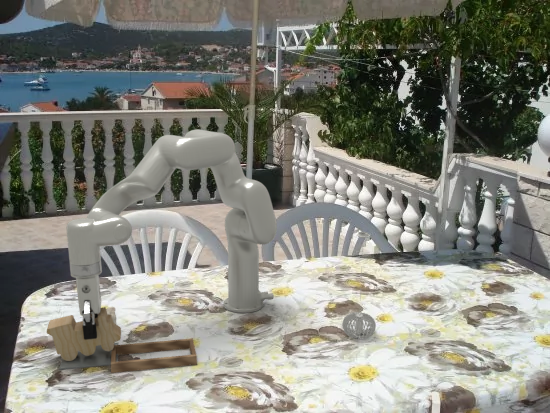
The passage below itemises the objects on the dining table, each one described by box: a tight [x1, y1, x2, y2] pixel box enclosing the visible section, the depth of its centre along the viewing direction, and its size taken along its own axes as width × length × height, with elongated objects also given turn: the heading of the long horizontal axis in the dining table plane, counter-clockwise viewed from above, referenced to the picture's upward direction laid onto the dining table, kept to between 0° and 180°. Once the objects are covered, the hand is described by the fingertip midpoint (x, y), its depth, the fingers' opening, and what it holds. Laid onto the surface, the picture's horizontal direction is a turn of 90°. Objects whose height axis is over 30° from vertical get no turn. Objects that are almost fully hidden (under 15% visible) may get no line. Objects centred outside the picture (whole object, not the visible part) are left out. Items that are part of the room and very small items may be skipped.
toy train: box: [45, 306, 122, 361], centre depth 160 cm, size 6×17×10 cm, turn 103°
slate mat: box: [59, 341, 120, 371], centre depth 161 cm, size 14×12×1 cm
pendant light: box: [342, 231, 377, 340], centre depth 172 cm, size 9×9×30 cm
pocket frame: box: [110, 337, 198, 374], centre depth 160 cm, size 21×10×2 cm, turn 103°
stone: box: [106, 306, 117, 325], centre depth 175 cm, size 8×12×10 cm, turn 10°
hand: (91, 330), depth 160 cm, fingers open, 9 cm apart
